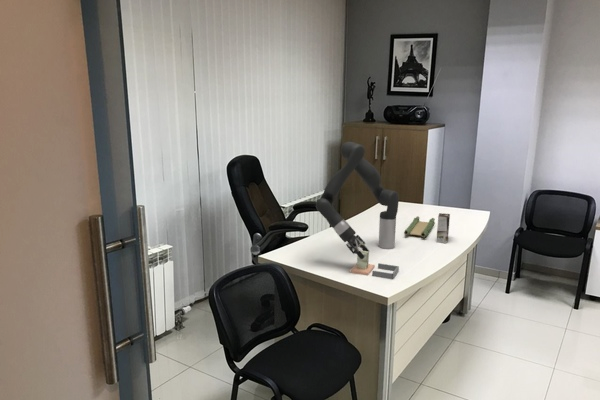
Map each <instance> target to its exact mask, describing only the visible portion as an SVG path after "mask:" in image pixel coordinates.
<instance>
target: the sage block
mask: <svg viewBox="0 0 600 400" xmlns="http://www.w3.org/2000/svg"><path fill="white" fill-rule="evenodd" d="M359 251H360V252H361V253H362V254H363V255H364V256H365V257H364V258H363V259H360V258H359V256H358V255H357V254H356V258H357V259H356V264H357V268H358V269H364V270H366V269H367V268H368V264H369V256H370V251H369V252H368V251H363V250H362V249H361V250H360V249H359Z"/></svg>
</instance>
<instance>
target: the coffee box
mask: <svg viewBox="0 0 600 400" xmlns="http://www.w3.org/2000/svg"><path fill="white" fill-rule="evenodd" d="M450 215H451V213H439V214H438V216H437V218H438V219H437V228H436V242H435V243H440V244H447V243H448V240H449V233H450V232H449V230H450V218H451V216H450Z"/></svg>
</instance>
